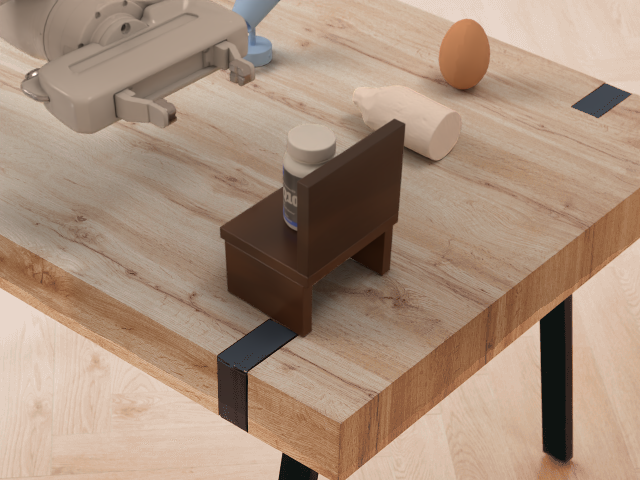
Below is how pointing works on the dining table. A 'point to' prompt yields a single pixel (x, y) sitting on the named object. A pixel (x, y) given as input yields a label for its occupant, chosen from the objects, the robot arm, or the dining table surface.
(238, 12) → the spotlight
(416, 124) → the beige bottle
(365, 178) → the small wooden chair
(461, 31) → the egg
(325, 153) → the pill bottle
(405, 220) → the dining table surface
